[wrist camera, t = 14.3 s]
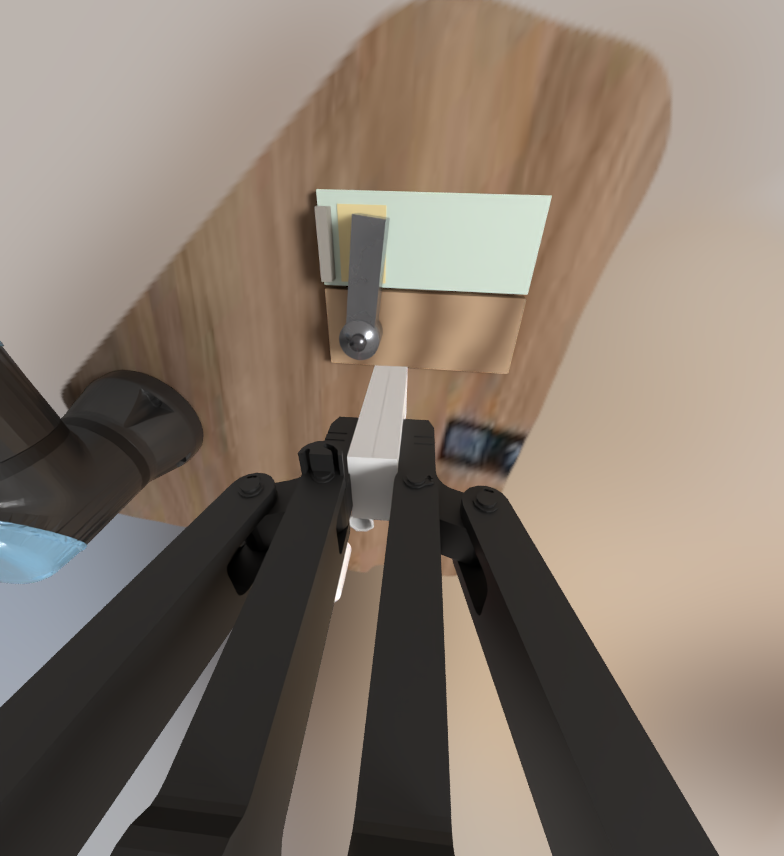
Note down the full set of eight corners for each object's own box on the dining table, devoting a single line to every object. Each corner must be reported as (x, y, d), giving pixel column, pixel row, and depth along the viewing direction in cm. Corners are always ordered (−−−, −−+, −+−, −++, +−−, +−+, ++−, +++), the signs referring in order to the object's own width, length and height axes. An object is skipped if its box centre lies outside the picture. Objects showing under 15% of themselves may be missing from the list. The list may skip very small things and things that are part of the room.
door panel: (327, 282, 34) (319, 288, 32) (319, 189, 30) (310, 188, 27) (524, 291, 33) (531, 298, 31) (547, 195, 28) (557, 195, 26)
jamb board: (333, 358, 39) (331, 362, 38) (327, 286, 34) (324, 288, 33) (505, 369, 38) (507, 374, 37) (523, 295, 33) (526, 298, 32)
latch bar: (380, 351, 36) (375, 366, 33) (345, 345, 36) (336, 359, 33) (396, 218, 29) (391, 221, 26) (352, 211, 29) (341, 213, 26)
